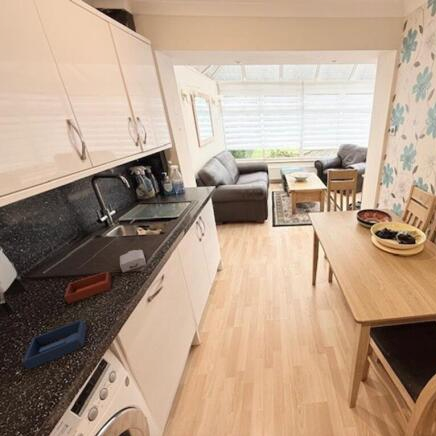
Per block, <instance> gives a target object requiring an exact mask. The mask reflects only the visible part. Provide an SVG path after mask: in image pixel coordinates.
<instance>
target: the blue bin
mask: <svg viewBox="0 0 436 436" xmlns="http://www.w3.org/2000/svg"><path fill="white" fill-rule="evenodd" d="M87 328H88V326H87V324H86V322H85V320H84V319H83V318H81V319H78V320H77V321H73V322H71V323H68V324H66V325H63V326H60V327H57V328H55V329H53V330H50V331H47V332H44V333H41V334H40V335H37V336H34V337H32V339H31V340H30V342H29V343H30V344H29V346H28V347H27V350H26V353H25V355H24V357H23V360H22V364H23V365H24V366H25V367H26V368H27V370H31V369H35V368H37V367H39V366H41V365H44V364H46V363H49V362H50V361H53V360H56V359H58V358H60V357H63V356H65V355H68V354H69V353H72V352H75V351H77V350H79V349H82V348H84V344H85V338H86V334H87V330H88V329H87ZM74 333H77V337H76V339H75V340H72V341H70V342H67V343H65V344H62V345H60V346H58V347H55V348H53V349H50V350H48V351H45V352H43V353H40V354H39V350H40V348H41V347H42V346H44V345H46V344H49V343H51V342H54V341H56V340H58V339H62V338H64V337H67V336H68V335H69V336H70V335H72V334H74Z"/></svg>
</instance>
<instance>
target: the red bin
mask: <svg viewBox="0 0 436 436" xmlns="http://www.w3.org/2000/svg"><path fill="white" fill-rule="evenodd" d="M100 281H105V283H102V284H99V285H96V286H93V287H90V288H87V289H84V290H81V291H78V292H76V290H78V289H81V288H84V287H87V286H90V285H93V284H96V283H98V282H100ZM111 284H112V276H111V273H110V271H109V270H106V271H104V272H100V273H97V274H94V275H90V276H88V277H85V278H81V279H78V280H76V281H72V282H69V283H68V285H67V287H66V291H65V294H64V296H63V297H64V299H65V301H66V303H67V304H68V305H69V304H72V303H74V302H78V301H80V300H83V299H86V298H89V297H91V296H94V295H95V296H96V295H97V294H101V293H104V292H106V291H110V290H111Z"/></svg>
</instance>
